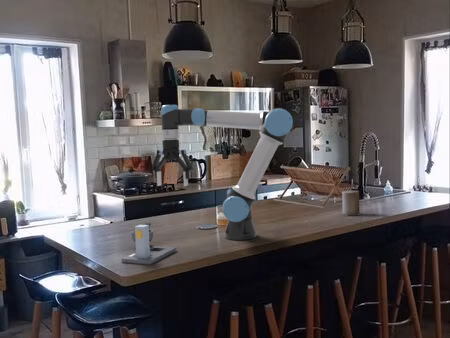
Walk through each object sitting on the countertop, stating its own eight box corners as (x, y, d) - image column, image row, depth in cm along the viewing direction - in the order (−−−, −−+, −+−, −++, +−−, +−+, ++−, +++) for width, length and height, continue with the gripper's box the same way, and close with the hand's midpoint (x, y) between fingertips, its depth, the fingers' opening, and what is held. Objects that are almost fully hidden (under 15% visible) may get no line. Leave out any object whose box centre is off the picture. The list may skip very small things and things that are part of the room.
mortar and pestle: (128, 246, 220) (127, 220, 219) (146, 242, 226) (145, 217, 225) (141, 250, 212) (140, 223, 211) (159, 246, 218) (158, 220, 217)
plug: (150, 259, 197) (148, 225, 196) (143, 262, 192) (142, 227, 191) (141, 258, 198) (140, 224, 197) (135, 261, 194) (133, 227, 193)
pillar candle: (363, 214, 281) (362, 188, 280) (351, 216, 276) (351, 190, 275) (350, 212, 289) (349, 187, 288) (338, 214, 284) (338, 189, 283)
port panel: (150, 249, 213) (149, 245, 213) (176, 251, 209) (176, 247, 208) (121, 262, 193) (121, 258, 193) (150, 264, 188) (150, 260, 188)
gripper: (142, 140, 221) (144, 186, 222) (191, 138, 211) (193, 187, 213) (150, 139, 228) (152, 184, 229) (199, 138, 218) (200, 185, 220)
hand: (172, 185), depth 221 cm, fingers open, 13 cm apart
